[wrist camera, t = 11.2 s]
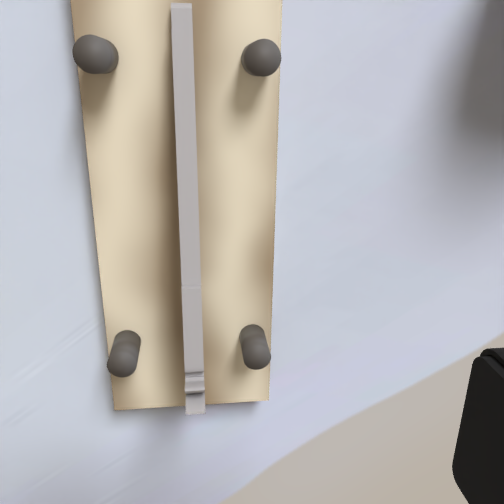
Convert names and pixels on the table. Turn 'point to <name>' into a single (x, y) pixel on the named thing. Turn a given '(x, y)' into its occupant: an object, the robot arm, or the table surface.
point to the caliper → (188, 204)
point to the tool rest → (166, 191)
